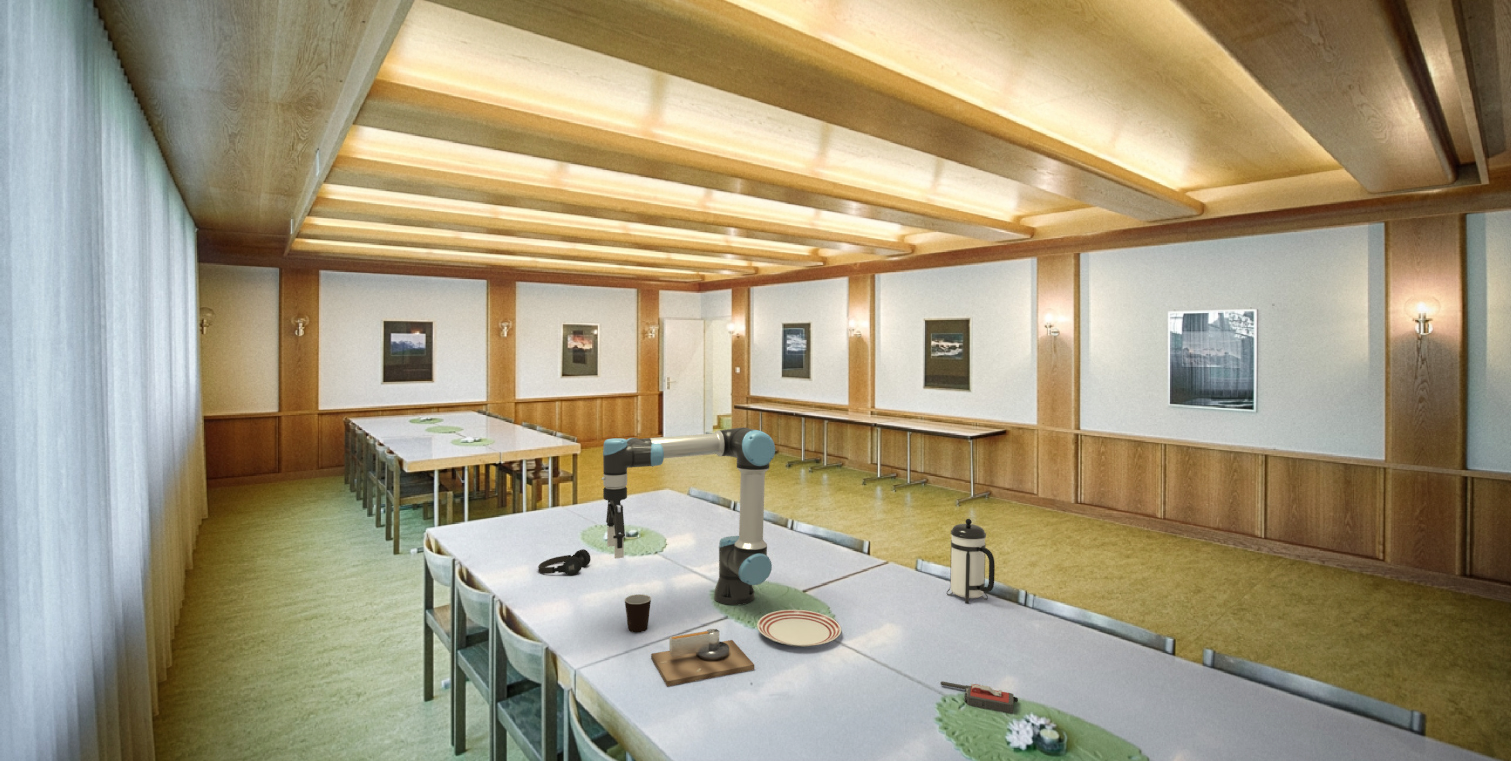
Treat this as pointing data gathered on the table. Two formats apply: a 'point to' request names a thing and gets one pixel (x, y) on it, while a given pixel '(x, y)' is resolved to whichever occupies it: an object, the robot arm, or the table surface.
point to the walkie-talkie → (986, 697)
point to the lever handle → (699, 645)
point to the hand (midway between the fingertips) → (615, 551)
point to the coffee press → (969, 562)
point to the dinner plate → (799, 628)
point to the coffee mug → (637, 612)
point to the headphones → (566, 563)
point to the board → (700, 665)
